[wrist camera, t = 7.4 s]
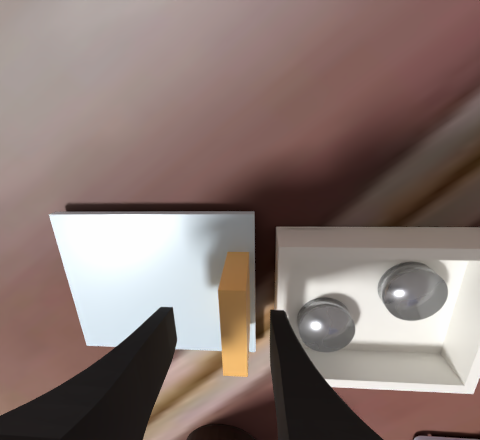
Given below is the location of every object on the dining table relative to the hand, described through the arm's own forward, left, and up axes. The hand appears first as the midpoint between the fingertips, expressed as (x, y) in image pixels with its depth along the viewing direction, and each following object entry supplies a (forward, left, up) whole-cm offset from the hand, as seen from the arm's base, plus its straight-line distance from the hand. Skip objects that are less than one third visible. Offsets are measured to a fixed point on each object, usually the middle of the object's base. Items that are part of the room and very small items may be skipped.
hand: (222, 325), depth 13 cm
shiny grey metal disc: (-10, 0, -4) cm, 11 cm away
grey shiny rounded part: (-6, +2, -4) cm, 7 cm away
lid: (+4, 0, -4) cm, 6 cm away
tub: (-8, +1, -4) cm, 9 cm away
